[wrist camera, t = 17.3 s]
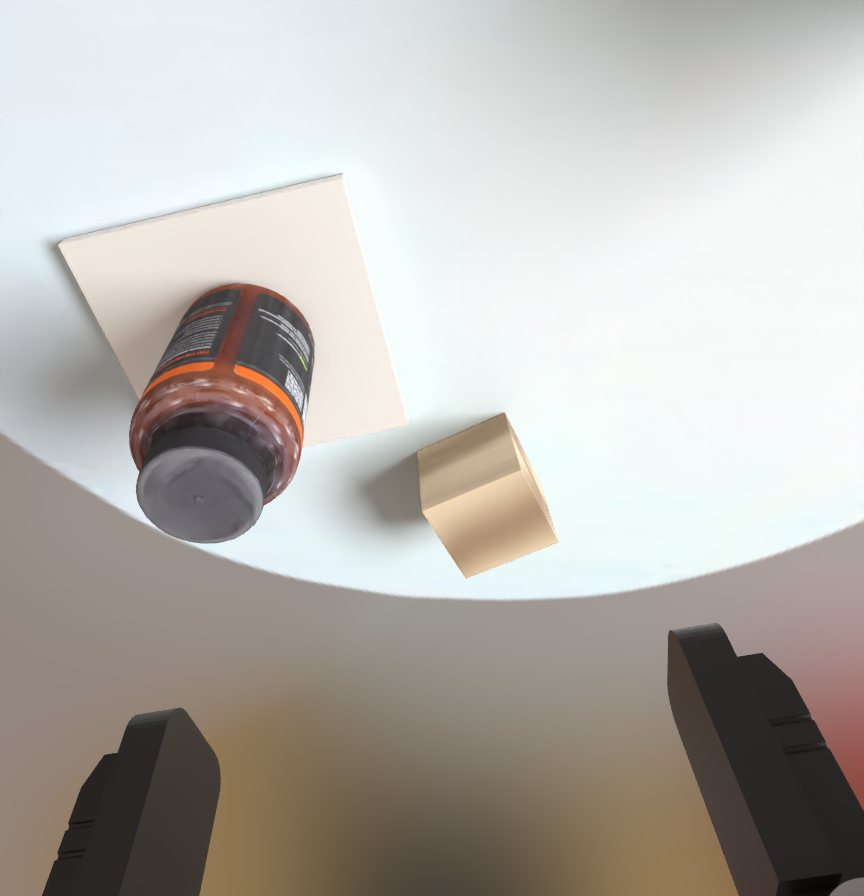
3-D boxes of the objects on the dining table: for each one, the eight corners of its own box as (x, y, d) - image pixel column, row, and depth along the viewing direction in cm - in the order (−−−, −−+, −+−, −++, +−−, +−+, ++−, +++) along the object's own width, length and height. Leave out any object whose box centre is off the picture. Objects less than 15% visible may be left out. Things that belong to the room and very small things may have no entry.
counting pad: (65, 238, 29) (57, 245, 29) (343, 173, 28) (342, 178, 28) (181, 464, 36) (177, 473, 35) (408, 416, 35) (408, 425, 35)
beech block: (416, 450, 37) (421, 511, 32) (504, 411, 36) (521, 469, 31) (456, 514, 39) (465, 578, 35) (538, 480, 38) (558, 542, 34)
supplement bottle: (158, 354, 32) (66, 516, 22) (222, 250, 29) (149, 384, 20) (274, 419, 34) (235, 591, 25) (343, 328, 31) (327, 480, 22)
